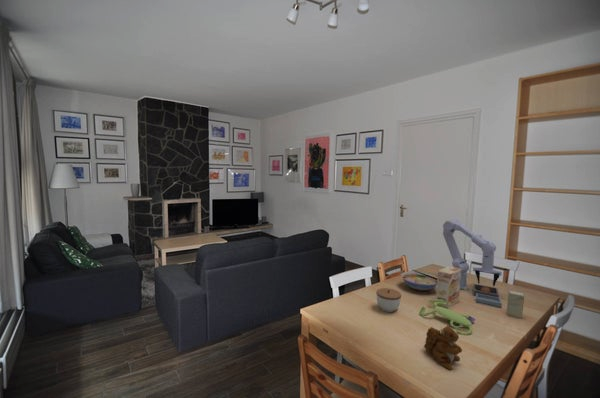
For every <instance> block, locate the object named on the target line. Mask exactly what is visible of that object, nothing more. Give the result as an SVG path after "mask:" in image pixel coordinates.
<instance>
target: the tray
mask: <svg viewBox="0 0 600 398" xmlns="http://www.w3.org/2000/svg"><path fill="white" fill-rule="evenodd" d="M475 303H476V304H481V305H486V306H490V307H494V308H500V309H502V307H503V306H502V305H503V303H502V298H501V297H500V296H499V297H494V296H489V295H484V294H479V293H476V296H475Z"/></svg>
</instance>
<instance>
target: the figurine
mask: <svg viewBox="0 0 600 398" xmlns="http://www.w3.org/2000/svg"><path fill="white" fill-rule="evenodd" d="M428 302H434V303H433V306H434V308H433V310H431V311H426V306H424V305H423V306H422V307H420V309H419V313H418V316H421V315H422V317H427V316H429V315H431V314H434V313H436V312H437V313H438V314H439V315H440V316H442V317H444V318H445V320H447V321H448V320H449V321H450V322H449V326H450V327H451V328H455V330H456V331H455V332H456V333H457V334H458V335H459V334H460V335H464V336H468V335H470V334H472V332H473V328H472V325H473V324H475V321H476V318H474V317H472V316H471V315H467V314H463V313H461V314H459V313H458V312H457V311H456V312H455V311H454V310H451V309H450V308H445V307H443V306H439V305H437V304H441V305H446V304H447V303H446V302H445V301H443V300H436V298H435V299H433V298H432V299H431V298H430V299H428ZM425 311H426V313H425ZM454 323H456V325H455V324H454ZM464 326H465V327H467V328H468V329H469V330H468V331H466V332H463V331H460V330H458V329H457V328H462V327H464Z"/></svg>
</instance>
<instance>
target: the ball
mask: <svg viewBox="0 0 600 398" xmlns="http://www.w3.org/2000/svg"><path fill="white" fill-rule="evenodd" d="M483 286H484V287H482V288H481V291H482V292H488V293H490V289H489V288H488V287H485V286H486V285H483Z"/></svg>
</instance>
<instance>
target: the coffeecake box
mask: <svg viewBox="0 0 600 398" xmlns="http://www.w3.org/2000/svg"><path fill="white" fill-rule="evenodd" d="M437 278H438V281H437V286H436V297H435V300H443V301H445V302H446V303H447V304H446V305H441V304H437V306H439V307H442V308H446V309H450V308H451V307H453V306H454V305H456V304H457V303H458V302H459V301H460V289H461V288H460V279H461V269H460V268H456V267H453V265H449V266H446V267H444V268H441V269H439V270H437Z"/></svg>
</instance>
